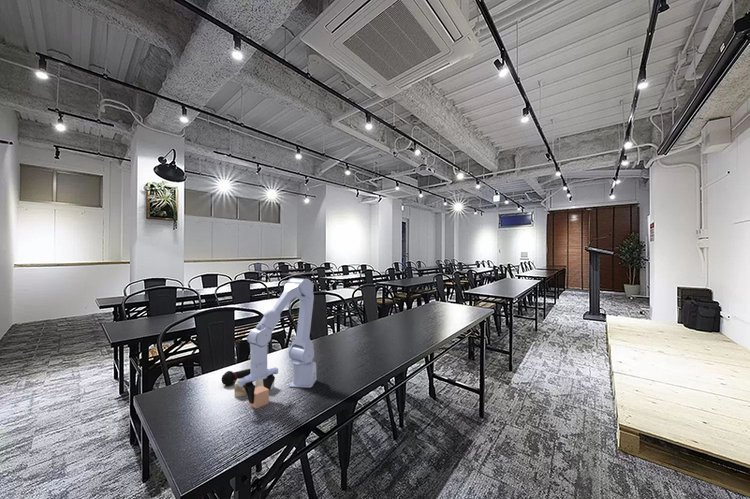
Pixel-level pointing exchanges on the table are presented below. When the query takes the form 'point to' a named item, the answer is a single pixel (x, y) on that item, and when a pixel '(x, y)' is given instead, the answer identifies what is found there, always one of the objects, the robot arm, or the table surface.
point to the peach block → (260, 397)
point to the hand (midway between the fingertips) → (258, 399)
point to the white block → (260, 383)
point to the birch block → (239, 390)
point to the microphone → (234, 376)
